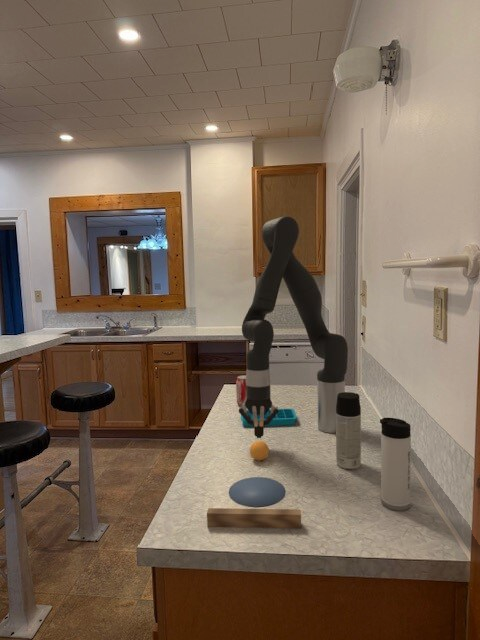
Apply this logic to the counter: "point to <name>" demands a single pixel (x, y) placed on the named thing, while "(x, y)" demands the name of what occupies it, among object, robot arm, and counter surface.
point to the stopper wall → (254, 518)
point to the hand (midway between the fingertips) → (259, 437)
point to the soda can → (241, 390)
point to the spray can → (348, 430)
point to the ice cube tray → (276, 418)
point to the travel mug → (395, 463)
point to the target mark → (257, 491)
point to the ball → (259, 450)
